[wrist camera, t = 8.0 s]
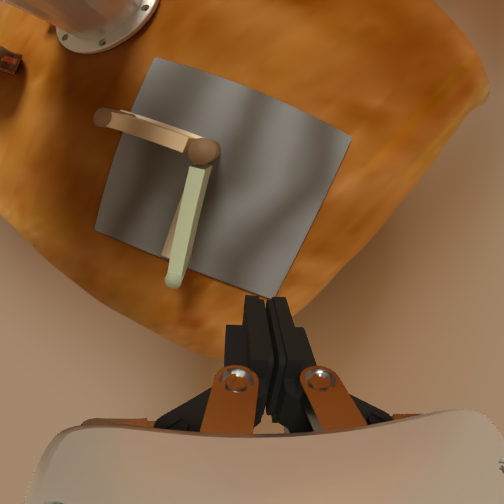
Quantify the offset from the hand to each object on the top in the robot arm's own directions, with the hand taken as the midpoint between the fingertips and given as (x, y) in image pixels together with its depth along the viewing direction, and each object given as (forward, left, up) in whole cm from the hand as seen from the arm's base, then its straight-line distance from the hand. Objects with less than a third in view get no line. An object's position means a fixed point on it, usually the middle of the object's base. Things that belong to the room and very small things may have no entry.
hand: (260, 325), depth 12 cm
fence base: (-5, +2, -18) cm, 19 cm away
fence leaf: (-5, -1, -17) cm, 18 cm away
